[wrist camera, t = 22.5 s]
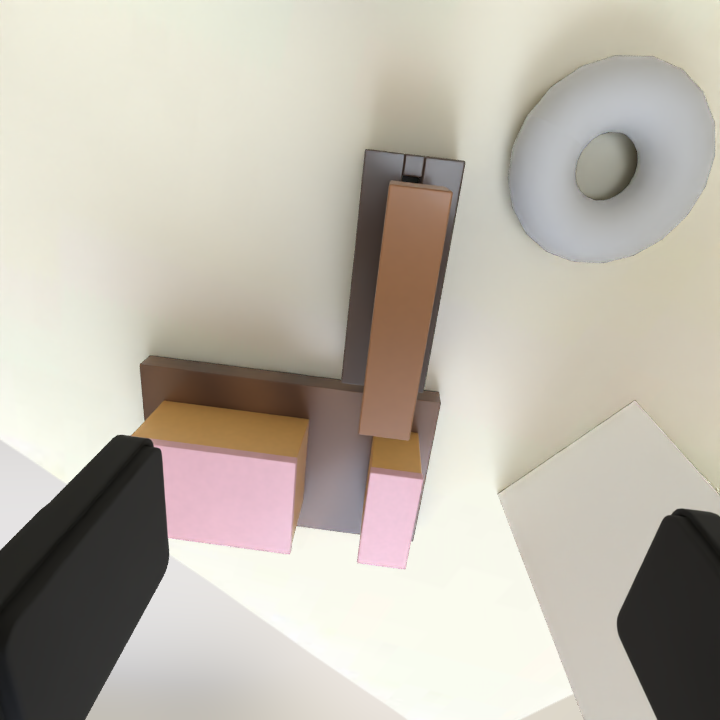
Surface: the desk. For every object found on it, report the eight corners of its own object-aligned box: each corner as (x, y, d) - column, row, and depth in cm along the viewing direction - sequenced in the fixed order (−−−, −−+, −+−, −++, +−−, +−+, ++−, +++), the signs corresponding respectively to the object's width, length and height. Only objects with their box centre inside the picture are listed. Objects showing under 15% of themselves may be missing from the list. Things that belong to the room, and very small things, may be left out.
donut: (643, 271, 29) (728, 81, 24) (673, 287, 26) (777, 73, 21) (479, 237, 28) (537, 40, 24) (489, 249, 25) (558, 26, 21)
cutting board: (160, 494, 38) (151, 506, 36) (149, 355, 33) (139, 364, 32) (412, 527, 37) (413, 541, 36) (439, 392, 33) (441, 402, 31)
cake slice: (362, 508, 35) (357, 563, 30) (373, 426, 32) (370, 472, 28) (404, 514, 35) (405, 570, 30) (419, 432, 32) (423, 479, 28)
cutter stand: (346, 360, 32) (341, 383, 29) (368, 149, 27) (365, 149, 24) (420, 369, 32) (423, 393, 29) (457, 159, 27) (466, 161, 24)
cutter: (369, 349, 32) (357, 434, 22) (391, 172, 27) (389, 183, 18) (405, 354, 32) (409, 441, 22) (433, 177, 27) (453, 191, 18)
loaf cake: (168, 483, 35) (134, 533, 31) (163, 399, 33) (124, 440, 28) (303, 501, 35) (289, 554, 31) (310, 418, 32) (295, 463, 28)
